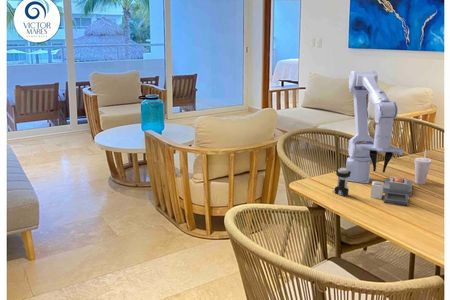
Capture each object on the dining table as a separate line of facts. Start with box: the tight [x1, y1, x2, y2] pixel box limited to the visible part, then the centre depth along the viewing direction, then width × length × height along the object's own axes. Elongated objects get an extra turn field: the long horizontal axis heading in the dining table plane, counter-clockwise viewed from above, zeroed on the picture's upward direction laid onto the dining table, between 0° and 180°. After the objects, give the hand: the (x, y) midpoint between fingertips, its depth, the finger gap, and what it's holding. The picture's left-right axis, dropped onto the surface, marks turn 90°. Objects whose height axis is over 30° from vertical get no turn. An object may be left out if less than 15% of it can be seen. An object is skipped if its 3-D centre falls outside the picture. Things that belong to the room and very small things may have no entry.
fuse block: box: [370, 180, 385, 200], centre depth 176 cm, size 4×4×6 cm
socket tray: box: [383, 192, 409, 207], centre depth 172 cm, size 8×8×1 cm
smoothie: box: [413, 148, 432, 185], centre depth 189 cm, size 6×6×14 cm
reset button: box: [394, 177, 404, 183], centre depth 180 cm, size 3×3×3 cm
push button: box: [331, 167, 351, 197], centre depth 177 cm, size 7×5×10 cm
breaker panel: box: [383, 176, 413, 198], centre depth 183 cm, size 10×12×4 cm
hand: (379, 171), depth 173 cm, fingers open, 3 cm apart
